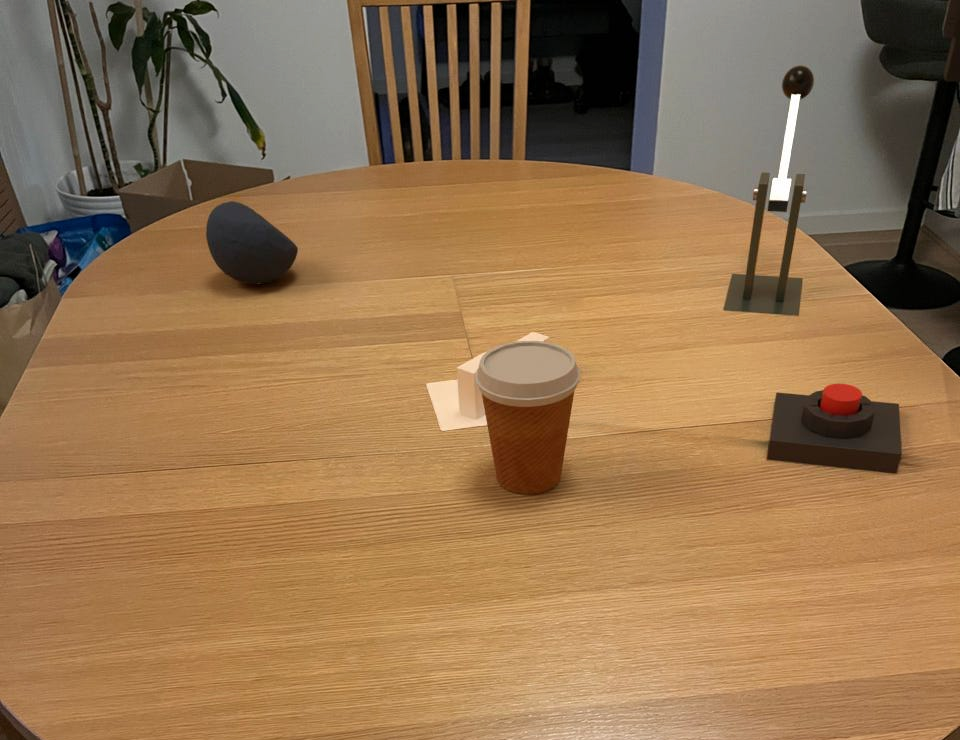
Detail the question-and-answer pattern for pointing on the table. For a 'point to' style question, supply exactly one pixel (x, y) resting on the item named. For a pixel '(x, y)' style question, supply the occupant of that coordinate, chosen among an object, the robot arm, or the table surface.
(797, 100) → the lever
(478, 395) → the napkin holder
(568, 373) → the disposable coffee cup
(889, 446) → the button box
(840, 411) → the button
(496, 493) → the table surface
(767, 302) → the bracket
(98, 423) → the table surface
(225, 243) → the decorative stone
